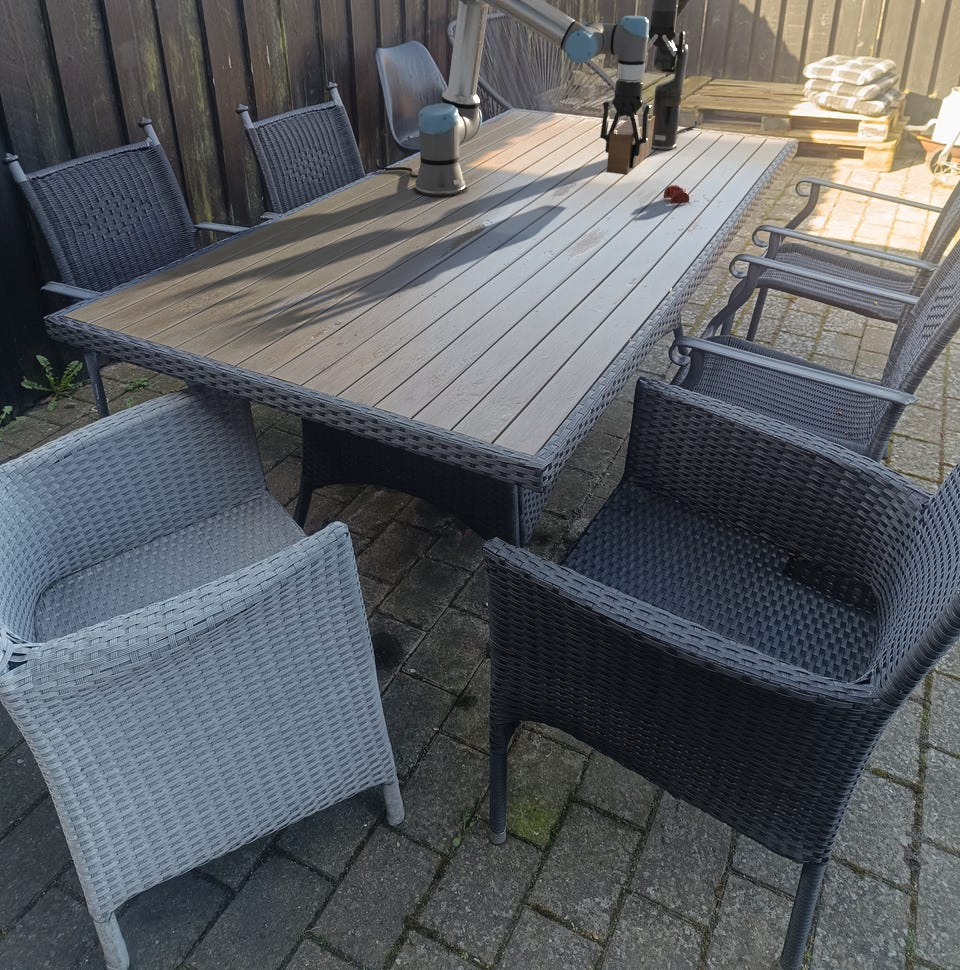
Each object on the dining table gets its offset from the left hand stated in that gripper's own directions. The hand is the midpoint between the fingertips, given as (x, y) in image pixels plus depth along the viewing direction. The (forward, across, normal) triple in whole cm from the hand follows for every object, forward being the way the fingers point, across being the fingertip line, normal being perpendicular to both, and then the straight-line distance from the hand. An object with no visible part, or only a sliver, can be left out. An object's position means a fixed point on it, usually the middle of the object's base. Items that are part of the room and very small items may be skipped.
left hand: (621, 165), depth 247 cm
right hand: (-20, +1, -37) cm, 43 cm away
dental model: (+9, -17, -3) cm, 19 cm away
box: (+1, 0, -9) cm, 9 cm away
